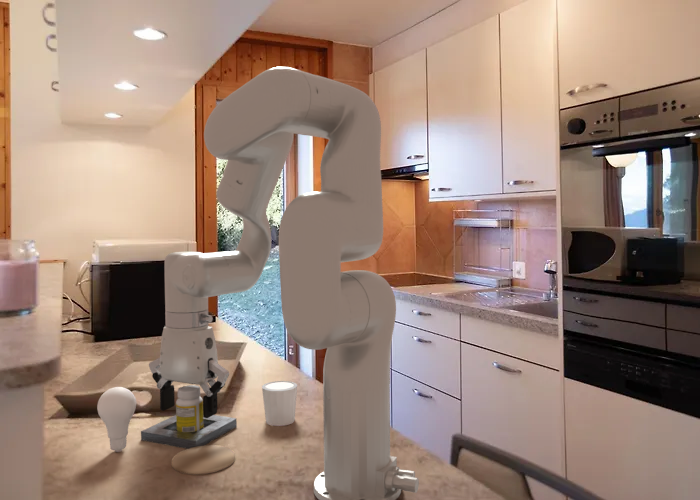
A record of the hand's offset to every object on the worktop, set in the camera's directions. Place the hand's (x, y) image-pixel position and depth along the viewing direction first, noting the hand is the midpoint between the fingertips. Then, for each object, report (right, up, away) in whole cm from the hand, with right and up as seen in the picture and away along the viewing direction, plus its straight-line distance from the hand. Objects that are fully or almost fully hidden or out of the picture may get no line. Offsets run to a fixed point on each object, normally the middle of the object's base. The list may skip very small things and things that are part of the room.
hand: (188, 412), depth 105 cm
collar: (0, -4, 0) cm, 4 cm away
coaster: (+6, -5, -12) cm, 14 cm away
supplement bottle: (0, -4, 0) cm, 4 cm away
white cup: (+16, -4, +6) cm, 18 cm away
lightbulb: (-10, -5, -8) cm, 13 cm away
